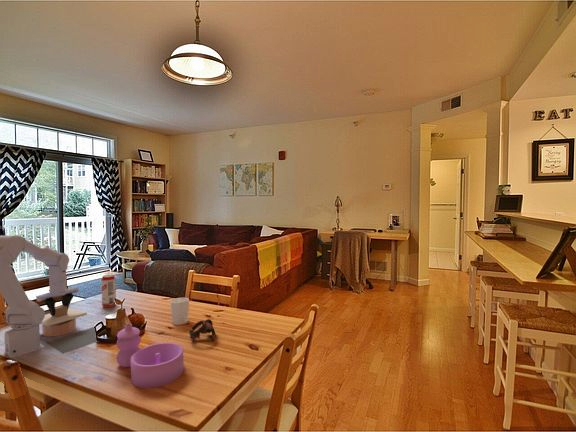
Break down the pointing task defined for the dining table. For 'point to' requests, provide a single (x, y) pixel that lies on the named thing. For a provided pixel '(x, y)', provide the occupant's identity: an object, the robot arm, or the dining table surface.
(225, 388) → the dining table surface
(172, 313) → the white cup
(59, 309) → the lid
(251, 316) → the dining table surface
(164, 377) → the container set
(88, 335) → the mat
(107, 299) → the beer can
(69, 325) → the bowl
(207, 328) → the dark brown arched piece
